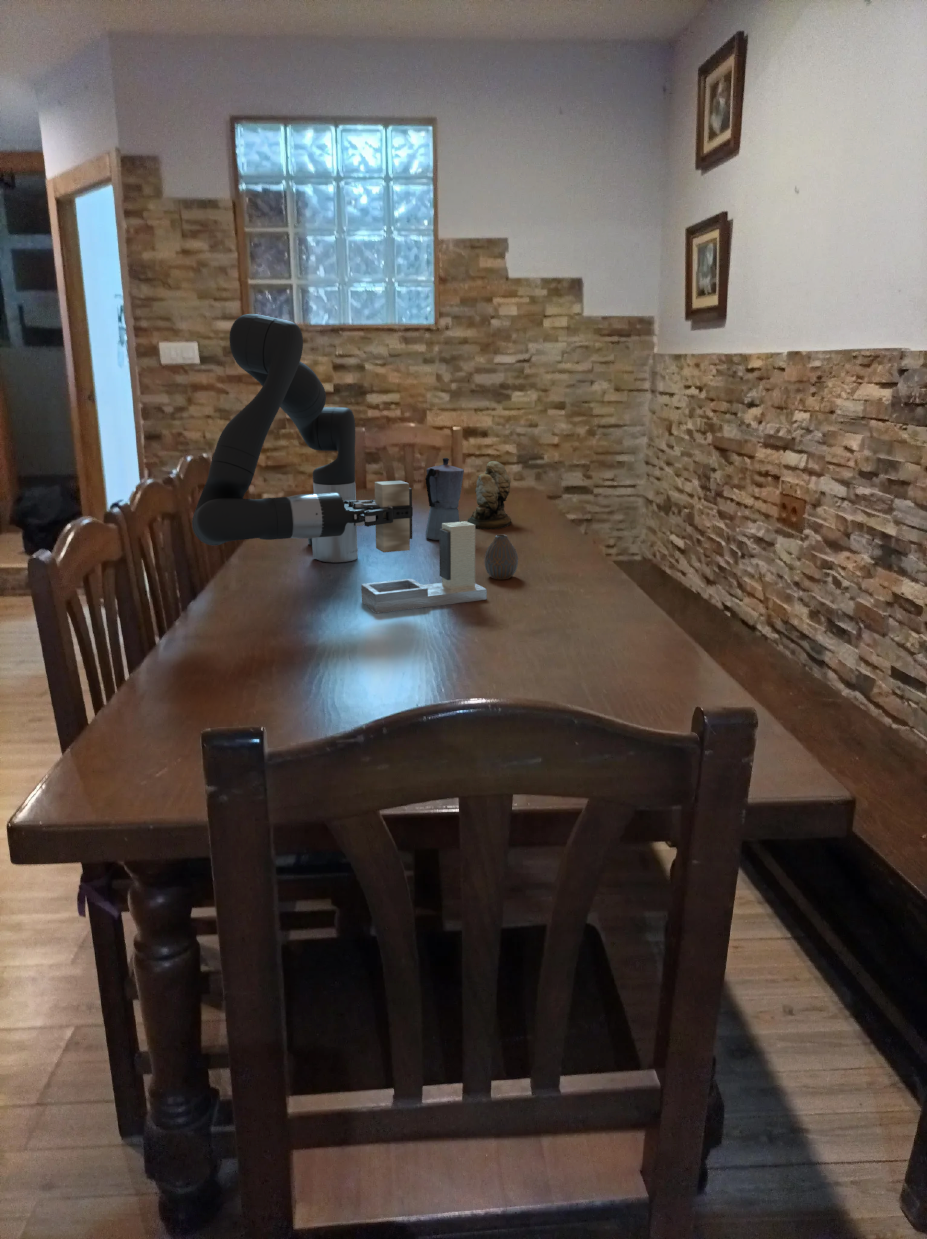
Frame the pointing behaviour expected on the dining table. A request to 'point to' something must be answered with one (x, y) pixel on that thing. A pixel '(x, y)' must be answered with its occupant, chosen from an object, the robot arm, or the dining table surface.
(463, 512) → the dining table surface
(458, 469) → the moka pot
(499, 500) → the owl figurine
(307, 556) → the dining table surface
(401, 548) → the tall beige block
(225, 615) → the dining table surface
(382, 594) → the grey stand with upright
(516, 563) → the vase
